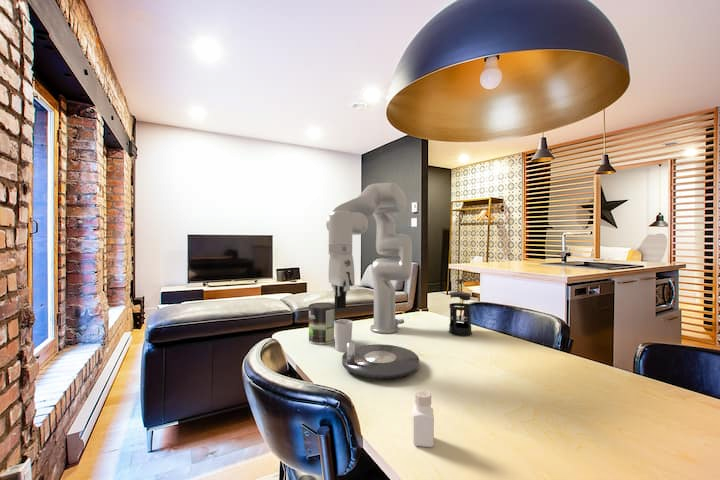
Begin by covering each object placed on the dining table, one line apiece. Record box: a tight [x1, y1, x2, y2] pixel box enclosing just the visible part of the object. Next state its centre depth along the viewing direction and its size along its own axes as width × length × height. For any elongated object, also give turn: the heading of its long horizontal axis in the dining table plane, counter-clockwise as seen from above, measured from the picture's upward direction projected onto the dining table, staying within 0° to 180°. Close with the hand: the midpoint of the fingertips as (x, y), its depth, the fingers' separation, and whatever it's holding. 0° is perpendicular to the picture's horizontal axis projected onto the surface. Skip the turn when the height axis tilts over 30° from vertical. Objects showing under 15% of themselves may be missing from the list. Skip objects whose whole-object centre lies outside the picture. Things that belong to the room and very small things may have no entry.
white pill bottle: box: [412, 389, 435, 448], centre depth 62 cm, size 4×4×10 cm
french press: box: [448, 278, 473, 337], centre depth 135 cm, size 12×9×23 cm
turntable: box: [341, 341, 420, 379], centre depth 99 cm, size 24×24×9 cm
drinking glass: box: [334, 319, 353, 353], centre depth 115 cm, size 7×7×10 cm
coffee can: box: [308, 302, 335, 346], centre depth 125 cm, size 10×10×14 cm
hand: (340, 307), depth 100 cm, fingers closed
